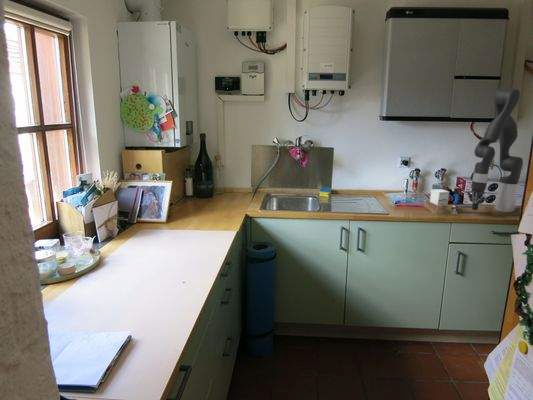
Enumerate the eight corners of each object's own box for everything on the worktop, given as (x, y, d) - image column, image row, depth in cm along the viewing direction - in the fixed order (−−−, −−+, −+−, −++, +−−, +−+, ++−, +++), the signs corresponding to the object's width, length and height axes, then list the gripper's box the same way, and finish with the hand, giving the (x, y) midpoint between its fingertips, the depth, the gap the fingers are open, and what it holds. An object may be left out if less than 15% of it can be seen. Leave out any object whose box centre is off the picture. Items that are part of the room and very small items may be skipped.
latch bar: (474, 206, 229) (474, 201, 229) (476, 208, 227) (477, 202, 226) (451, 207, 228) (451, 202, 227) (453, 208, 225) (454, 203, 224)
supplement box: (436, 212, 228) (439, 192, 224) (428, 209, 235) (430, 189, 231) (446, 212, 230) (449, 191, 226) (438, 208, 236) (441, 188, 233)
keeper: (444, 207, 240) (445, 199, 238) (458, 214, 226) (459, 205, 224) (423, 207, 238) (424, 199, 237) (436, 214, 224) (437, 206, 223)
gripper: (465, 178, 224) (461, 207, 229) (483, 183, 212) (478, 213, 216) (476, 178, 226) (471, 206, 230) (494, 183, 214) (489, 212, 218)
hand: (474, 209), depth 223 cm, fingers closed
